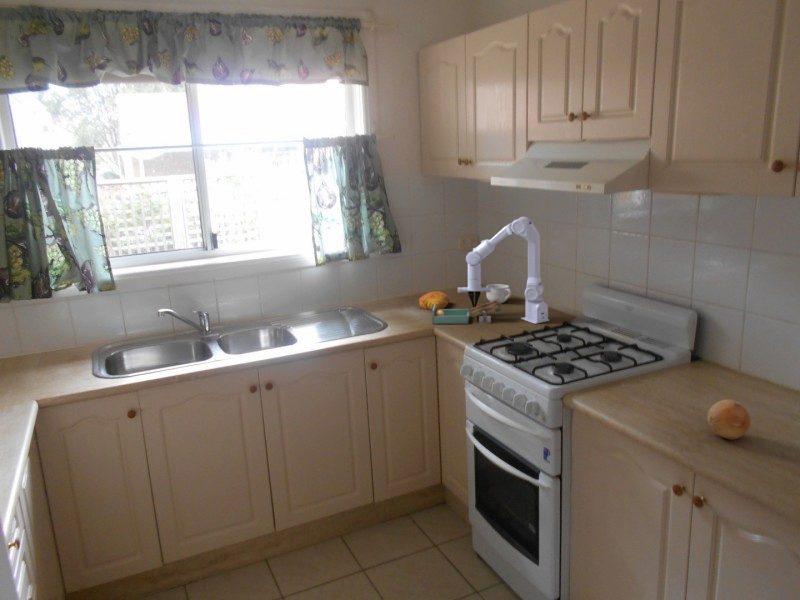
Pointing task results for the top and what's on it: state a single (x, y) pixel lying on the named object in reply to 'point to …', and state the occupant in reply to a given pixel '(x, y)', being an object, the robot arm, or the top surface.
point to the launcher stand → (484, 318)
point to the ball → (439, 313)
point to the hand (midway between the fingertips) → (474, 308)
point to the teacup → (498, 292)
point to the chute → (486, 308)
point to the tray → (451, 316)
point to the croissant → (434, 300)
